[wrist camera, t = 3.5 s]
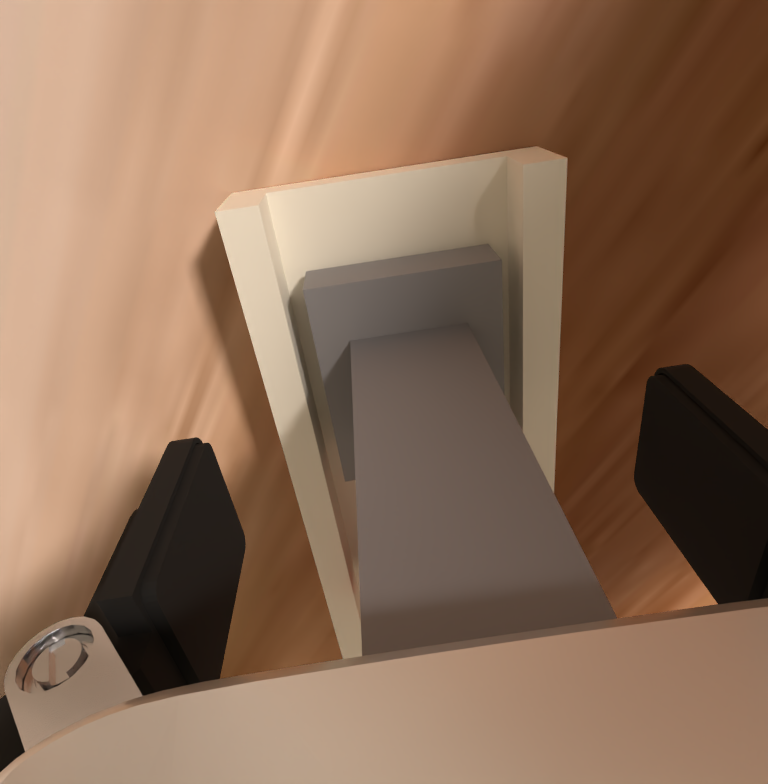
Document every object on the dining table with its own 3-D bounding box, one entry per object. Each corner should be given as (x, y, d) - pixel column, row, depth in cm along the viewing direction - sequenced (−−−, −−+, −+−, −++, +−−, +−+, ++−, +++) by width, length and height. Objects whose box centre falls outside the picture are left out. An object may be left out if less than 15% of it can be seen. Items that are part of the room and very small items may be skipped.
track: (536, 146, 14) (567, 157, 12) (531, 583, 23) (548, 630, 21) (231, 193, 14) (214, 212, 12) (343, 611, 23) (343, 660, 21)
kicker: (495, 242, 14) (765, 540, 5) (503, 552, 20) (634, 938, 11) (298, 272, 14) (226, 619, 5) (364, 572, 20) (384, 973, 11)
